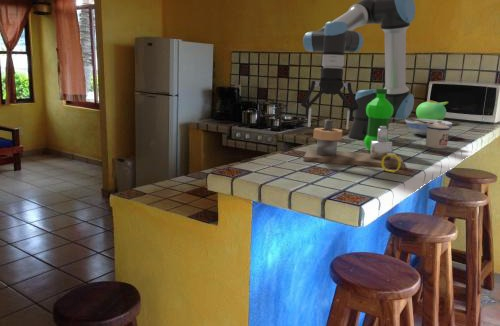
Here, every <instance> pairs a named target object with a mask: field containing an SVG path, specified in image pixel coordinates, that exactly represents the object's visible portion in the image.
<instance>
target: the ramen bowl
mask: <svg viewBox="0 0 500 326" xmlns="http://www.w3.org/2000/svg"><path fill="white" fill-rule="evenodd" d="M404 121H405V123H406V125H407V127H408V128H409V130H410V131H412V132H414V134H415V133H416V134H418V136H422V137H427V130H428V128H427V127H428V125H431V124H433V123H437V120H432V119H419V118H412V117H408V118H406V119H404ZM440 121H442V123H443V124H445V125H446V126H449V127H450V128H451V127H452V125H453V122H450V121H447V120H446V121H445V120H440Z"/></svg>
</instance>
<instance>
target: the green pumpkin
mask: <svg viewBox="0 0 500 326" xmlns="http://www.w3.org/2000/svg"><path fill="white" fill-rule="evenodd" d="M447 104H449V101H444V102H443V101H442V102H438V101H434V100H431V99H429V100H428V101H424V102H422V103H420V104H419V105H418V106H417V107H416V109H415V114H416V117H417V119H432V120H442V121H444V119H445V118H446V115H447V109H446V107H445V105H447Z"/></svg>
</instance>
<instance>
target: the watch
mask: <svg viewBox="0 0 500 326" xmlns="http://www.w3.org/2000/svg"><path fill="white" fill-rule="evenodd" d="M396 155H397V153H392V152H391V153H388V154H387V155H386V156H384V157H383V159H382V161H381V165H382V167H381V168H382V169H383V170H384V171H385V172H391V173H395V172H397V171H399V170H400V166H401V161H400V159H399V157H397V156H396ZM387 156H390V157H395V158H396V159H397V160H398V162H399V163H398V168H396V169H395V170H392V169H388V168H387V167H384V159H385V158H386V157H387Z"/></svg>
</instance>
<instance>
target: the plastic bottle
mask: <svg viewBox="0 0 500 326" xmlns="http://www.w3.org/2000/svg"><path fill="white" fill-rule="evenodd" d="M375 89H376V93H377V98H375V99H374V100H372V101H371V102H370V103H369V104H368V105H367V107H366V114H367V116H368V117H369V119H368V130H367V135H366V137H365V139H364V140H363V144H364V147H365V148H366V149H367V150H368V151H369V152H370V149H371V141H372V140H377V137H378V129H379V128H380V126H386V129H388V131H387V141H390V139H389V136H388V135H389V133H388V132H389V125H390V117H391V116H392V115H393V111H394V108H393V105H392V104H391V103H390V102H389V101H388V100H387V99H386V98H385V94H387V89H384V88H375Z"/></svg>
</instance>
